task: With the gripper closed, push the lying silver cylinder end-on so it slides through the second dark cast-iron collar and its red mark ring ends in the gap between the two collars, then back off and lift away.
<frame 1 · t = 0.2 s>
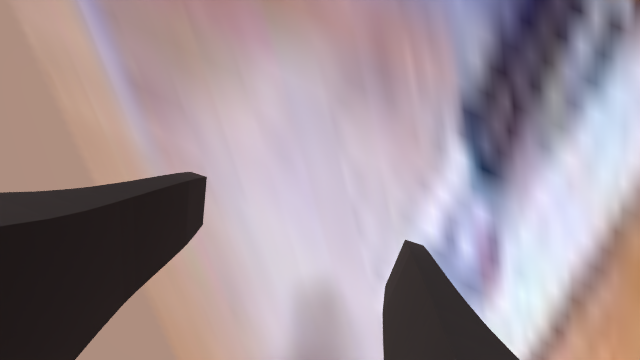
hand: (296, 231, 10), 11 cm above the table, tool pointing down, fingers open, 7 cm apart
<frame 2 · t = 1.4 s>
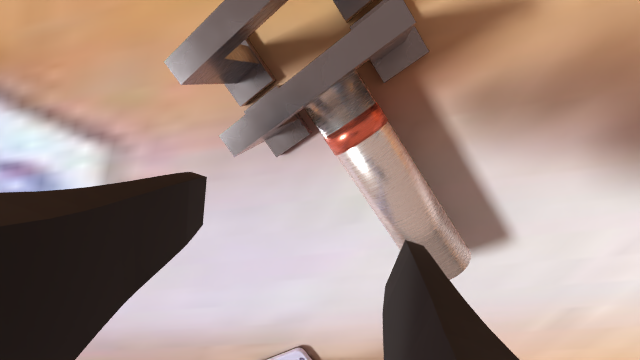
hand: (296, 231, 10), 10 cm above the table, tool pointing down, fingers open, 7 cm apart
collar b: (292, 26, 18), on the table
silver cylinder: (382, 164, 19), on the table
collar a: (329, 84, 18), on the table
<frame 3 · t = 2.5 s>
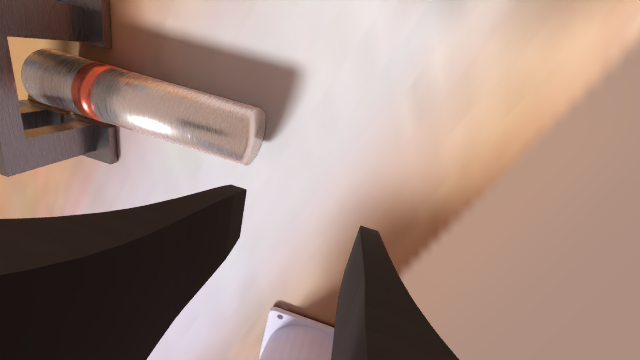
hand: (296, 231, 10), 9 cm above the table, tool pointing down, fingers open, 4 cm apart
collar b: (41, 68, 21), on the table
silver cylinder: (168, 105, 20), on the table, tilted 6°
collar a: (91, 82, 21), on the table
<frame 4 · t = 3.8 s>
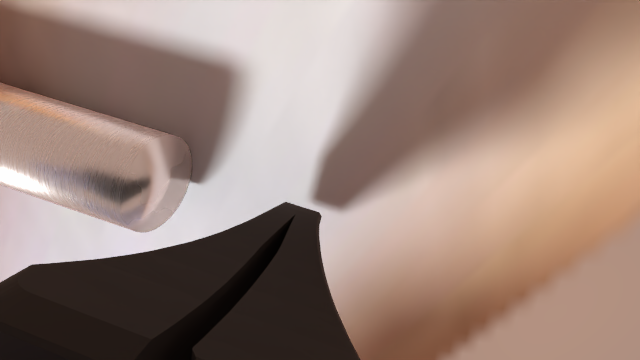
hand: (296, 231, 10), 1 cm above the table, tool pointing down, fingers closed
silver cylinder: (42, 129, 13), on the table, tilted 13°
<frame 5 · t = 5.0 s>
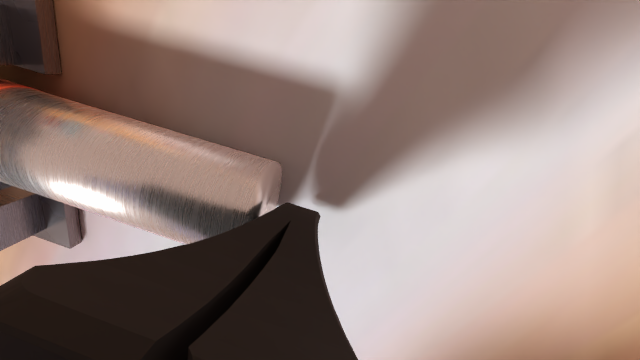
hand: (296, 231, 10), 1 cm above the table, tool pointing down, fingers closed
silver cylinder: (118, 155, 12), on the table, tilted 19°, touching gripper
collar a: (33, 127, 13), on the table
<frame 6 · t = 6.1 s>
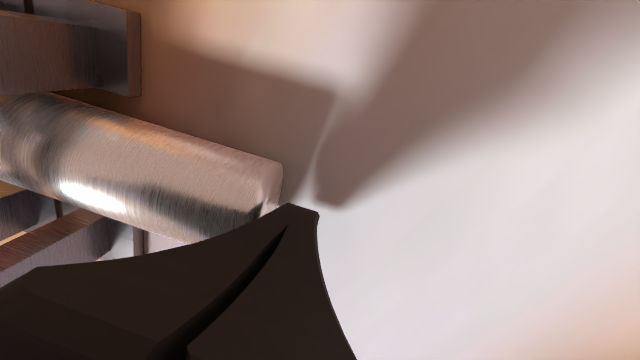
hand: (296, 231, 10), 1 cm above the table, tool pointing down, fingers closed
collar b: (23, 123, 13), on the table
silver cylinder: (119, 154, 12), on the table, tilted 19°, touching gripper
collar a: (103, 148, 12), on the table
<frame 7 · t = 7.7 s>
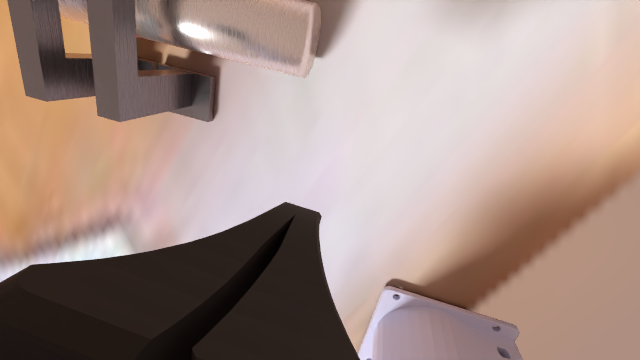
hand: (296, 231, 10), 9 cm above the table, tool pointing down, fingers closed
collar b: (131, 9, 18), on the table
silver cylinder: (203, 25, 17), on the table, tilted 15°
collar a: (191, 23, 18), on the table
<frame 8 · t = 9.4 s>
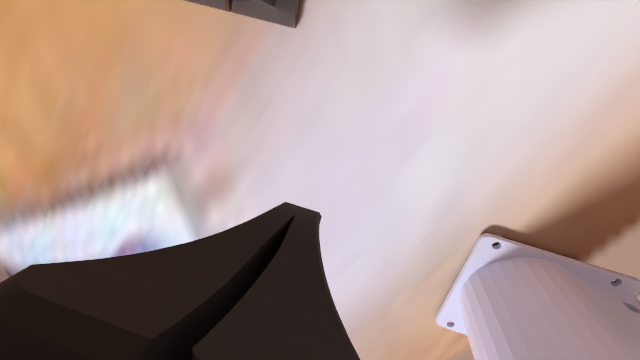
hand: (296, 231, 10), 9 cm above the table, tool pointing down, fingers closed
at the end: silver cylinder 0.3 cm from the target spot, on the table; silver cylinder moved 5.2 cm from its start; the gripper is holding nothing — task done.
